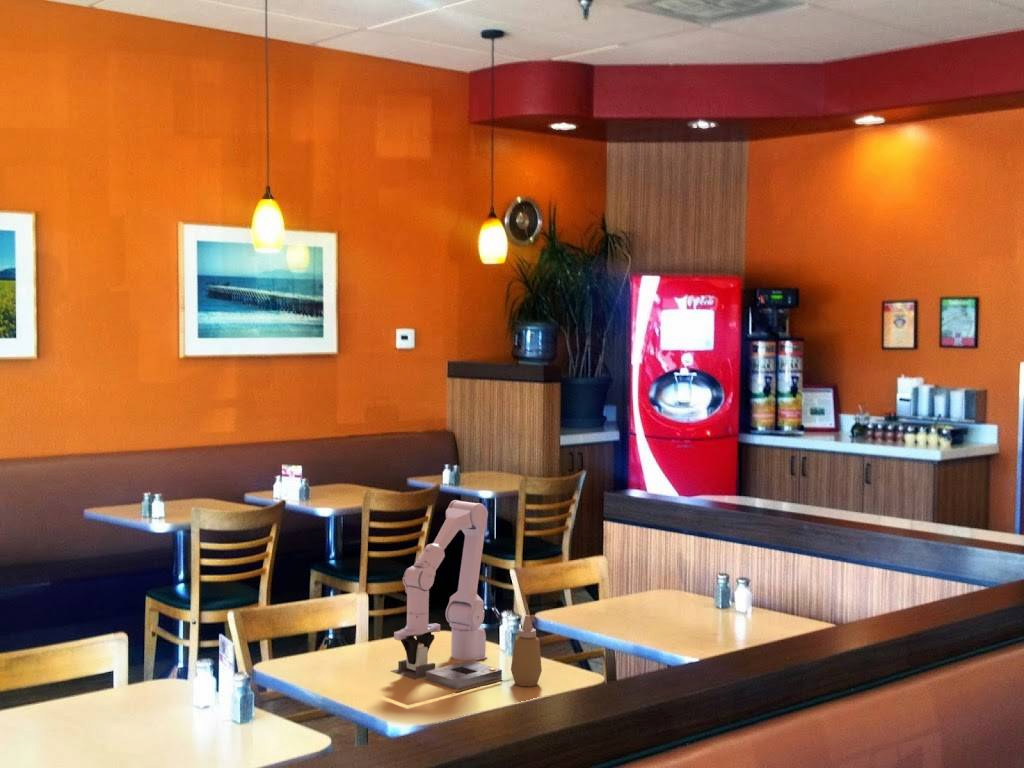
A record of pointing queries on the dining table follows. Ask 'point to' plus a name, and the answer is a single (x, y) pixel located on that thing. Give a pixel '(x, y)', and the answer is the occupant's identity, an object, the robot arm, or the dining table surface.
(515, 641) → the squeeze bottle
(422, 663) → the plug
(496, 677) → the port block
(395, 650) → the dining table surface
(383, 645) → the dining table surface
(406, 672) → the dark grey holder base
